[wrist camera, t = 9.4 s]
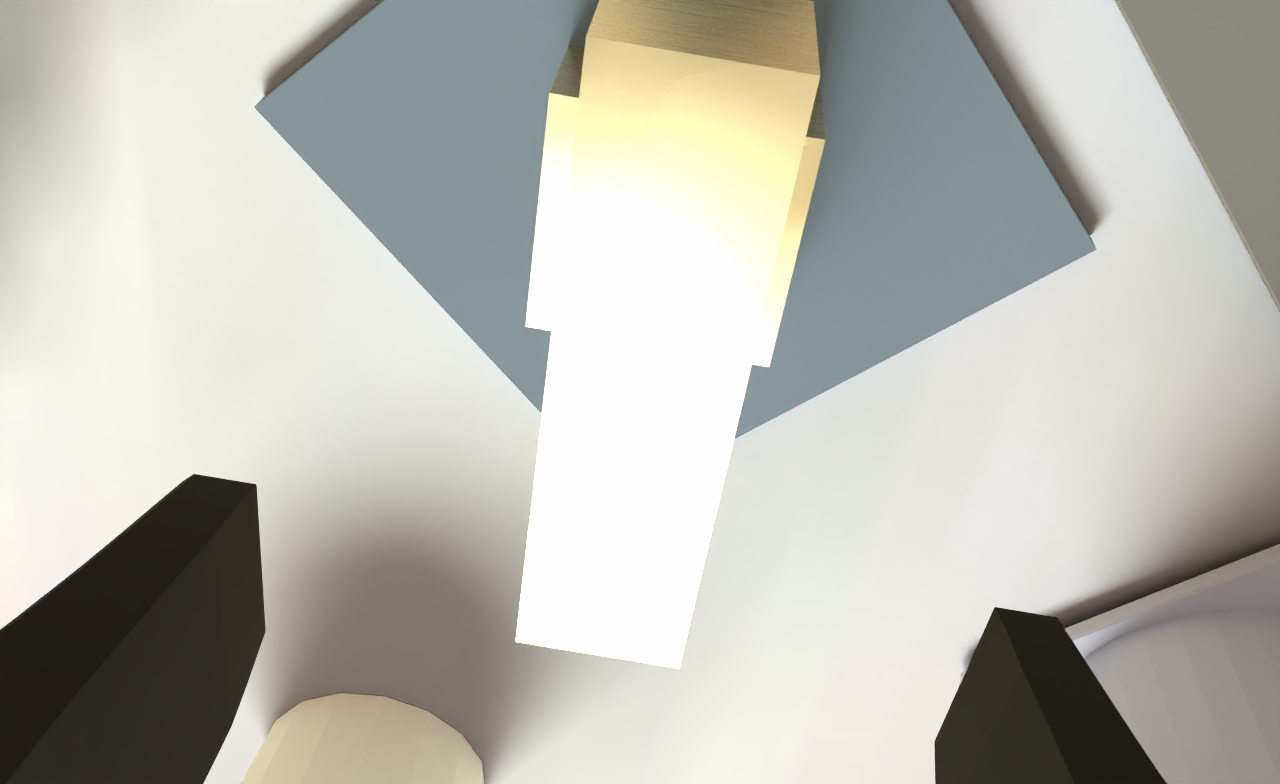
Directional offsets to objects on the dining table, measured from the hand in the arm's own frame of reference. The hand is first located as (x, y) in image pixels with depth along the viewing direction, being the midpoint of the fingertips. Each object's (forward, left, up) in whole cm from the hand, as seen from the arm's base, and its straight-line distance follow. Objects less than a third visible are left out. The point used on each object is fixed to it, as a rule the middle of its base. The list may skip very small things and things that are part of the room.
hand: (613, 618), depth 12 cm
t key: (0, 0, -10) cm, 10 cm away
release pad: (0, 0, -10) cm, 10 cm away
